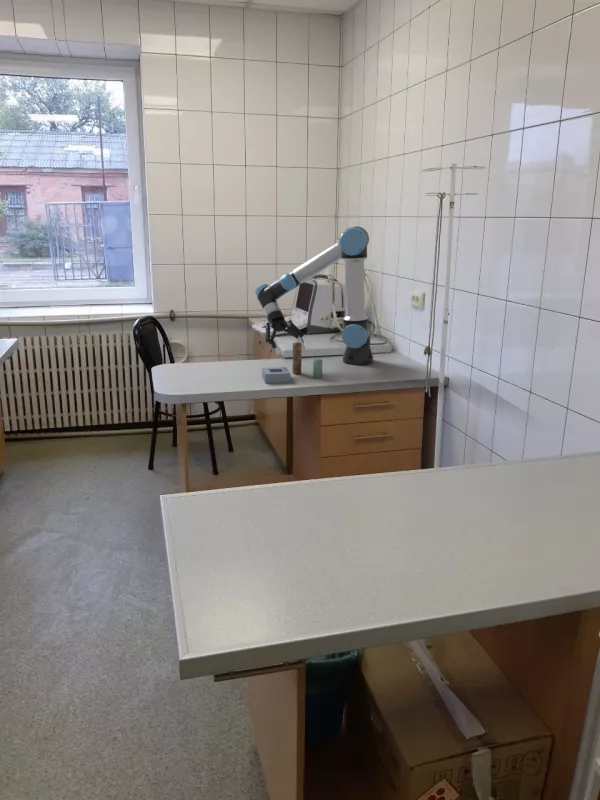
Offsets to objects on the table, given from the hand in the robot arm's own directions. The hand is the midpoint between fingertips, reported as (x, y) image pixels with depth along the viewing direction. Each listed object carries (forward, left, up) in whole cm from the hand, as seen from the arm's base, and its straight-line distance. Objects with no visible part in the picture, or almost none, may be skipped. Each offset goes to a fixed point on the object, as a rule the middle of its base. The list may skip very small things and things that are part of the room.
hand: (291, 351), depth 283 cm
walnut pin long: (-2, +2, -10) cm, 10 cm away
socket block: (+9, +11, -10) cm, 17 cm away
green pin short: (-10, +10, -10) cm, 17 cm away
